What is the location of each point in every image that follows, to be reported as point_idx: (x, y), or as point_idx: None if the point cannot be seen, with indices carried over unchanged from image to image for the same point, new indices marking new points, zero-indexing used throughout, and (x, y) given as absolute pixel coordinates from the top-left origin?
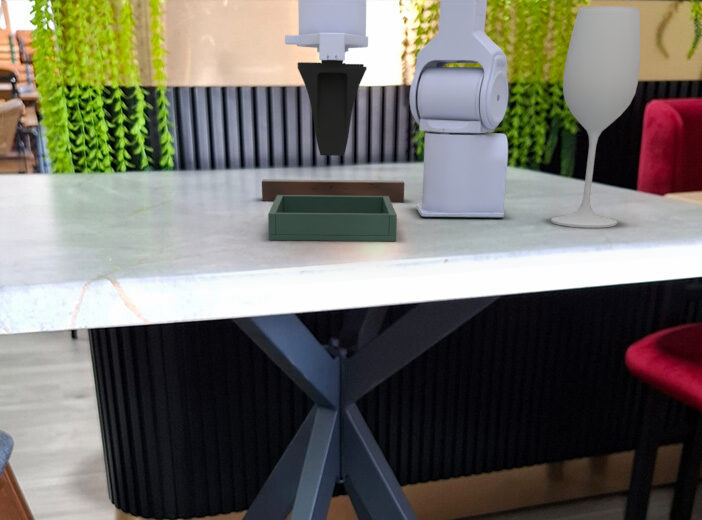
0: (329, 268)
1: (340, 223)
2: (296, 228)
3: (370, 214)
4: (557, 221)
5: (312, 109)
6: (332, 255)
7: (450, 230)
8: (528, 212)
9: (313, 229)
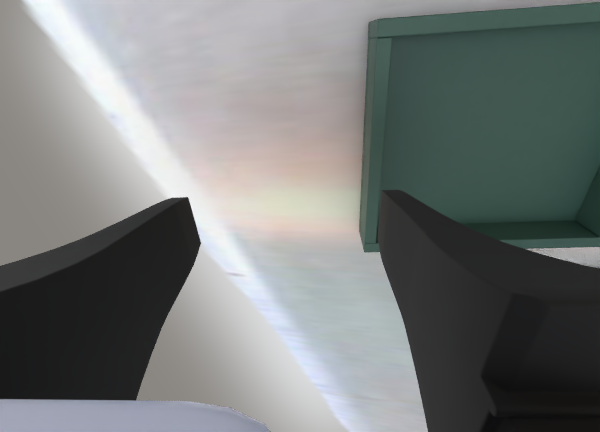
0: (147, 151)
1: (366, 166)
2: (369, 83)
3: (366, 218)
4: None
5: (76, 242)
6: (240, 150)
7: None
8: None
9: (367, 116)
